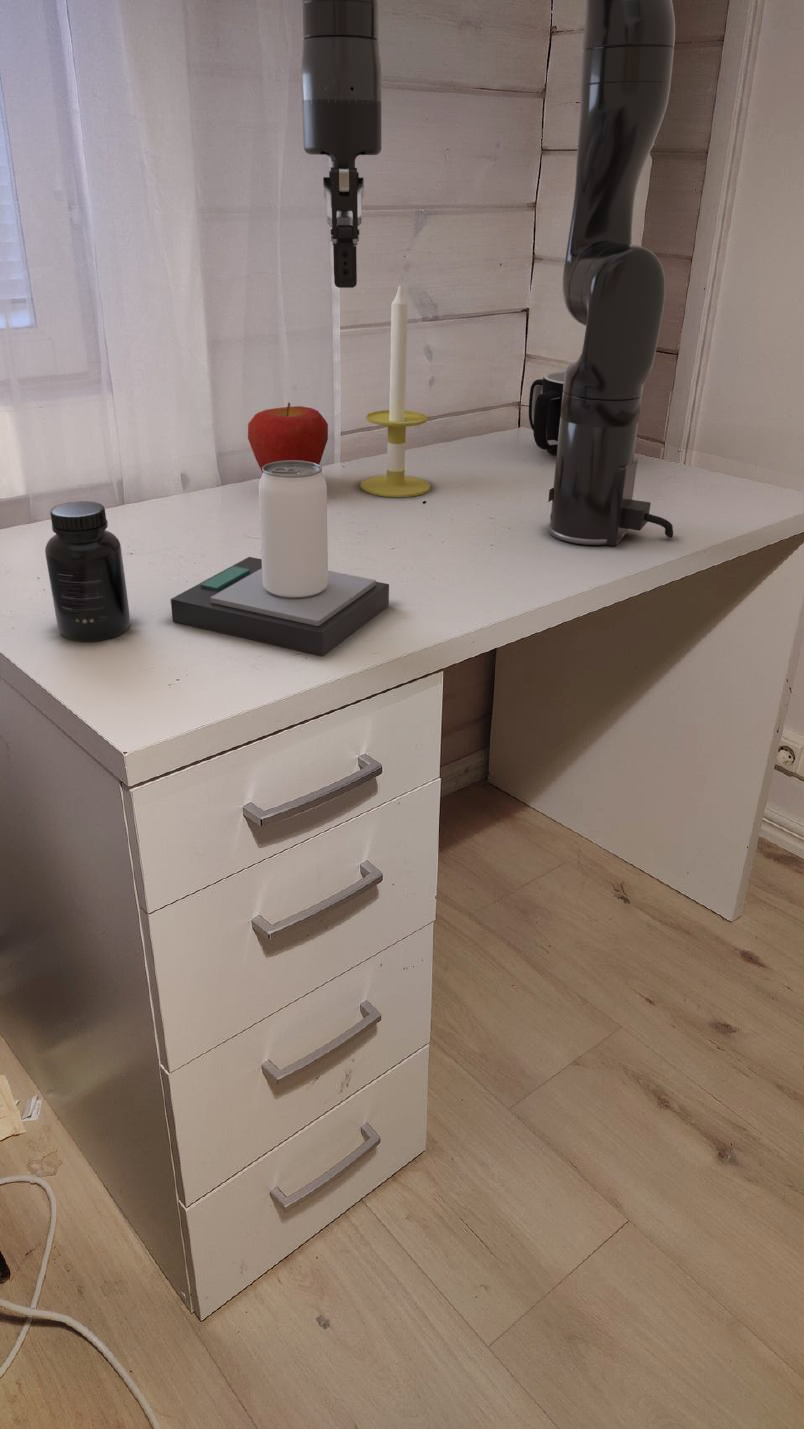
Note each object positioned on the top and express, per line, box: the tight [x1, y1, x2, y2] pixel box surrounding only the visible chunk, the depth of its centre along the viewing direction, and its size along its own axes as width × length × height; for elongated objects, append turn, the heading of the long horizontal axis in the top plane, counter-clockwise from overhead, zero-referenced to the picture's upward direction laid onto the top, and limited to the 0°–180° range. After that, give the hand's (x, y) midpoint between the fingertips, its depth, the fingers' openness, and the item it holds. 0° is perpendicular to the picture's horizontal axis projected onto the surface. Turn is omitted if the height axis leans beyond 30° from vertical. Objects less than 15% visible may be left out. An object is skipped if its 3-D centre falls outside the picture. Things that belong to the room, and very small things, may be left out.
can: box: [258, 460, 329, 599], centre depth 97 cm, size 6×6×12 cm
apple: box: [247, 401, 329, 474], centre depth 138 cm, size 11×11×12 cm
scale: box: [170, 556, 390, 657], centre depth 101 cm, size 17×14×3 cm
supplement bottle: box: [44, 500, 131, 642], centre depth 95 cm, size 7×7×12 cm
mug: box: [528, 370, 566, 457], centre depth 160 cm, size 16×16×12 cm
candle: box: [359, 281, 431, 498], centre depth 137 cm, size 10×10×27 cm
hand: (344, 283), depth 103 cm, fingers open, 8 cm apart
